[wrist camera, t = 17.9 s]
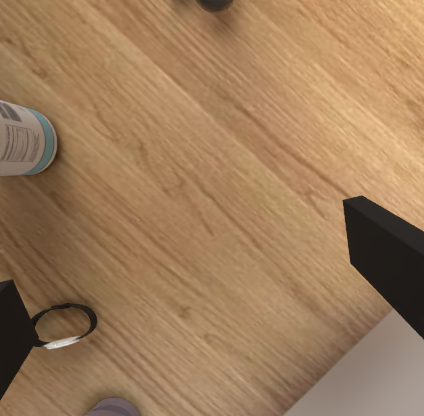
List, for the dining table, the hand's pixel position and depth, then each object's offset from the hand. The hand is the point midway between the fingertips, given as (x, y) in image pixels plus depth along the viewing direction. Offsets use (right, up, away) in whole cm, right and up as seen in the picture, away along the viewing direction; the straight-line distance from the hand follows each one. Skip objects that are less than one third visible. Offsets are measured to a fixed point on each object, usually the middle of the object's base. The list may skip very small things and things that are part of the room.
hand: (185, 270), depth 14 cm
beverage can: (-18, +9, +25) cm, 33 cm away
